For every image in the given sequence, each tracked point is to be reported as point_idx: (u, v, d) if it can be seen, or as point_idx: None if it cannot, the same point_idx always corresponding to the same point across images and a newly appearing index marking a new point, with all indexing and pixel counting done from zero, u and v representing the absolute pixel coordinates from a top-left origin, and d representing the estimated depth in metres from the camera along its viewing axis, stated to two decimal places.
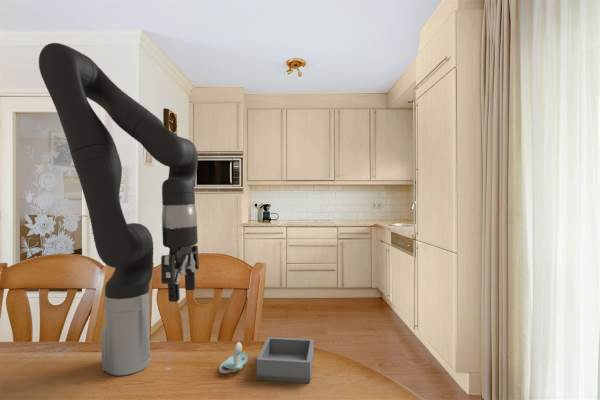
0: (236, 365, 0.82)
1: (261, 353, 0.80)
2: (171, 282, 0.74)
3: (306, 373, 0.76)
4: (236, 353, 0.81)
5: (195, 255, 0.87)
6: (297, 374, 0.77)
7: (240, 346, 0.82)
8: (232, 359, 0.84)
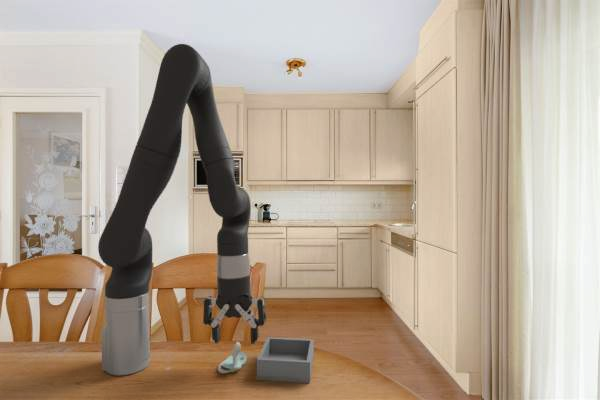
0: (235, 365, 0.82)
1: (261, 353, 0.80)
2: (265, 320, 0.83)
3: (306, 373, 0.76)
4: (235, 353, 0.81)
5: None
6: (297, 374, 0.77)
7: (239, 346, 0.82)
8: (231, 359, 0.84)
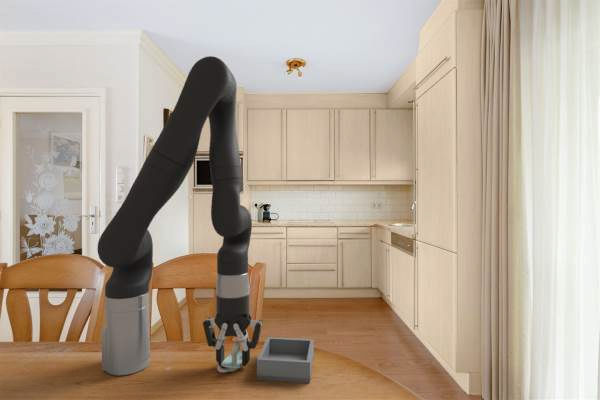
0: (234, 364, 0.82)
1: (261, 353, 0.80)
2: (257, 343, 0.83)
3: (306, 373, 0.76)
4: (234, 352, 0.81)
5: (212, 326, 0.84)
6: (297, 374, 0.77)
7: (238, 345, 0.82)
8: (230, 358, 0.84)
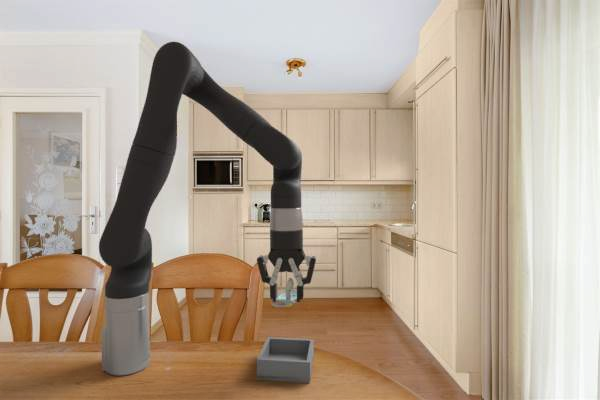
0: None
1: (261, 353, 0.80)
2: None
3: (306, 373, 0.76)
4: (289, 288, 0.81)
5: None
6: (297, 374, 0.77)
7: (292, 281, 0.82)
8: (283, 296, 0.84)
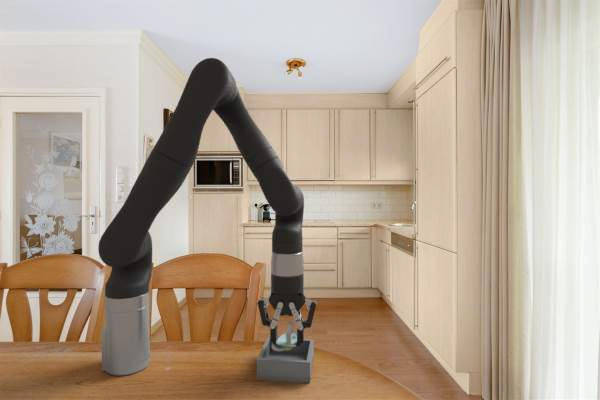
0: (289, 343, 0.82)
1: (261, 353, 0.80)
2: None
3: (306, 373, 0.76)
4: (289, 331, 0.81)
5: None
6: (297, 374, 0.77)
7: (292, 324, 0.82)
8: (283, 338, 0.84)
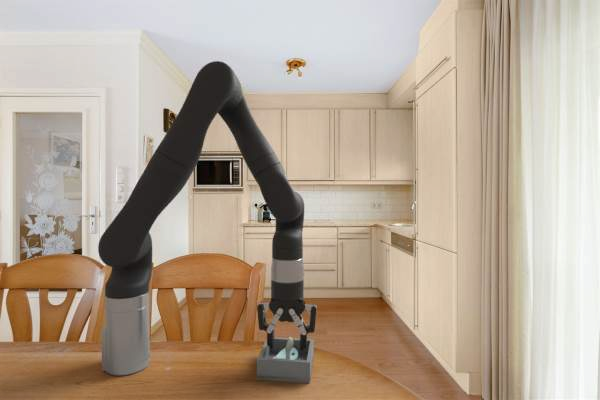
0: None
1: (261, 353, 0.80)
2: None
3: (306, 373, 0.76)
4: (289, 348, 0.81)
5: None
6: (297, 374, 0.77)
7: (292, 341, 0.82)
8: (282, 354, 0.84)
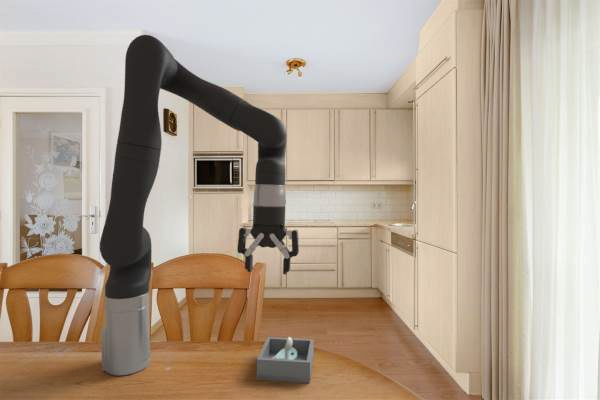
0: None
1: (261, 353, 0.80)
2: None
3: (306, 373, 0.76)
4: (288, 348, 0.81)
5: (245, 237, 0.86)
6: (297, 374, 0.77)
7: (291, 341, 0.82)
8: (281, 354, 0.84)
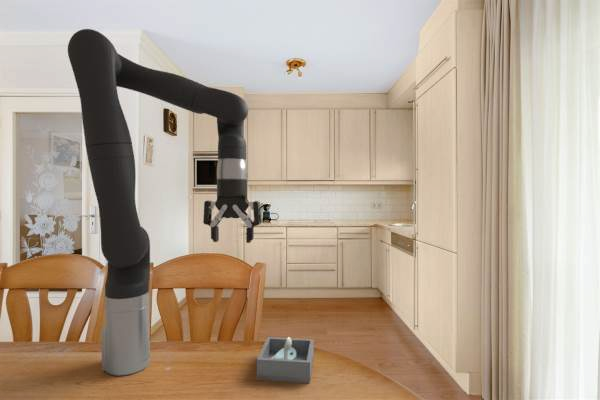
0: None
1: (261, 353, 0.80)
2: (260, 223, 0.90)
3: (306, 373, 0.76)
4: (287, 348, 0.81)
5: (211, 209, 0.91)
6: (297, 374, 0.77)
7: (290, 341, 0.82)
8: (281, 354, 0.85)
